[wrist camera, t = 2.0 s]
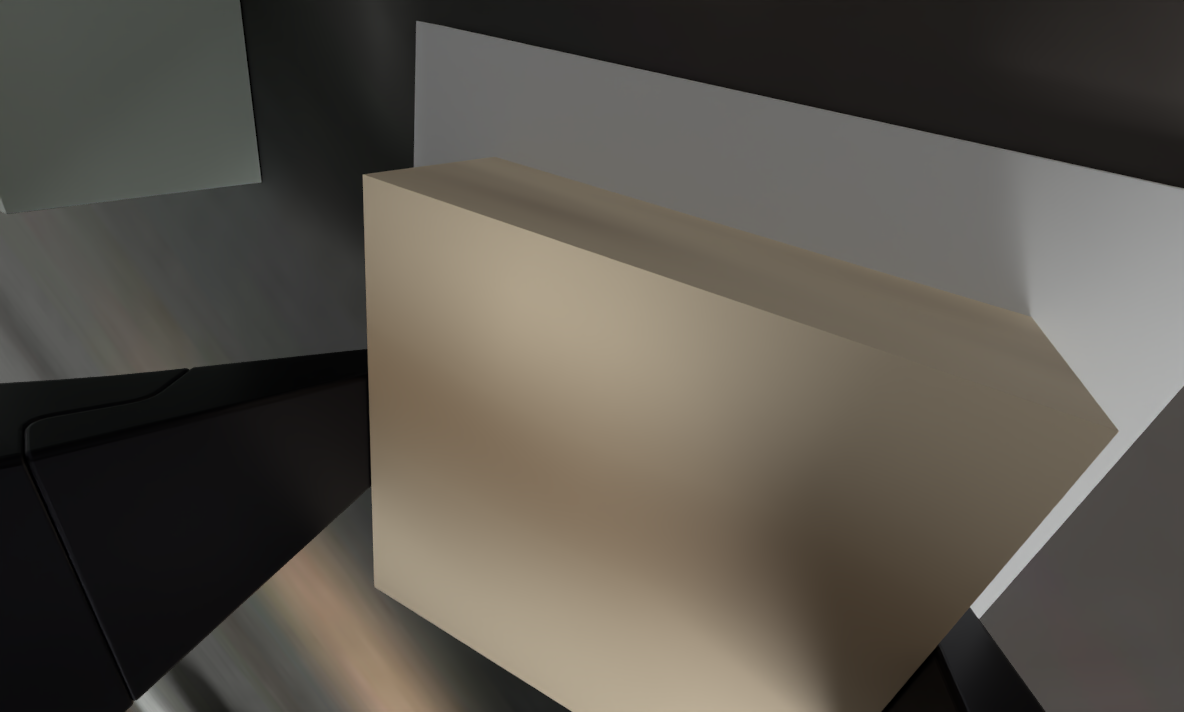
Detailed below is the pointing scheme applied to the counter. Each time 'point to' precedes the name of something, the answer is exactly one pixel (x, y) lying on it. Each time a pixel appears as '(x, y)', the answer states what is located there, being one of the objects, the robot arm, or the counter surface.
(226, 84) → the dish
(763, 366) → the lid
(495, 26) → the counter surface
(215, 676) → the counter surface
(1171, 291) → the mat
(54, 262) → the counter surface
